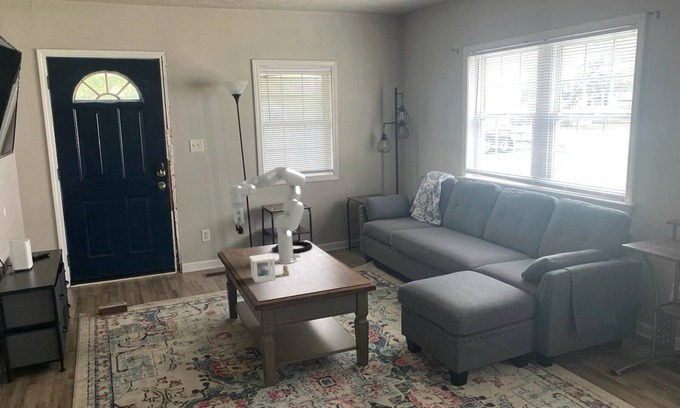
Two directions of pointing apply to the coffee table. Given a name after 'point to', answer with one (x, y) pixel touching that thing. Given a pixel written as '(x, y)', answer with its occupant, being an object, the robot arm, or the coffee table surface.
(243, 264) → the coffee table surface
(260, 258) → the white open frame box
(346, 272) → the coffee table surface
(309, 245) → the cable lock
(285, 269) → the block
